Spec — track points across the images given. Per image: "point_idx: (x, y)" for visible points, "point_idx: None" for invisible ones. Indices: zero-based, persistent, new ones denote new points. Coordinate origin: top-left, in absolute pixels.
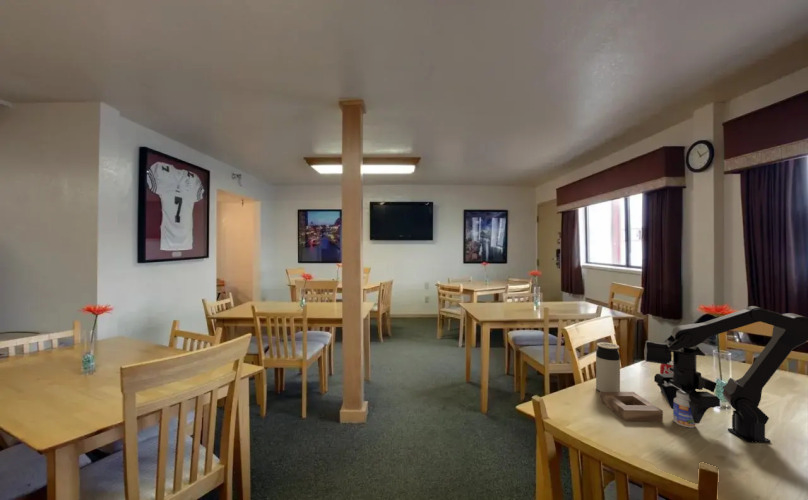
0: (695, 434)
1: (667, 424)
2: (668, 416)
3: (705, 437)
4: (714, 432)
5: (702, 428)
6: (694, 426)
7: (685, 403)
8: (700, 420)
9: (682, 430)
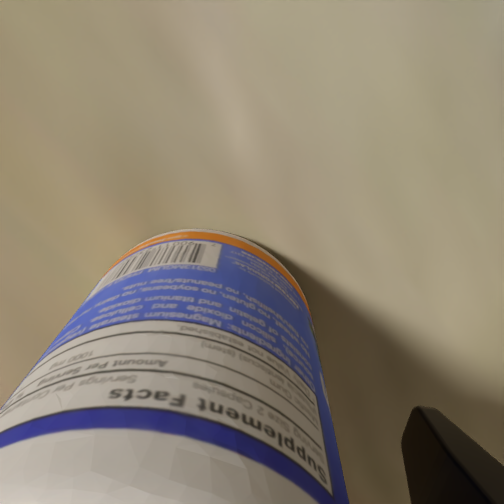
0: None
1: None
2: (27, 351)
3: (500, 369)
4: (461, 157)
5: (342, 216)
6: (306, 301)
7: None
8: (477, 447)
9: None
